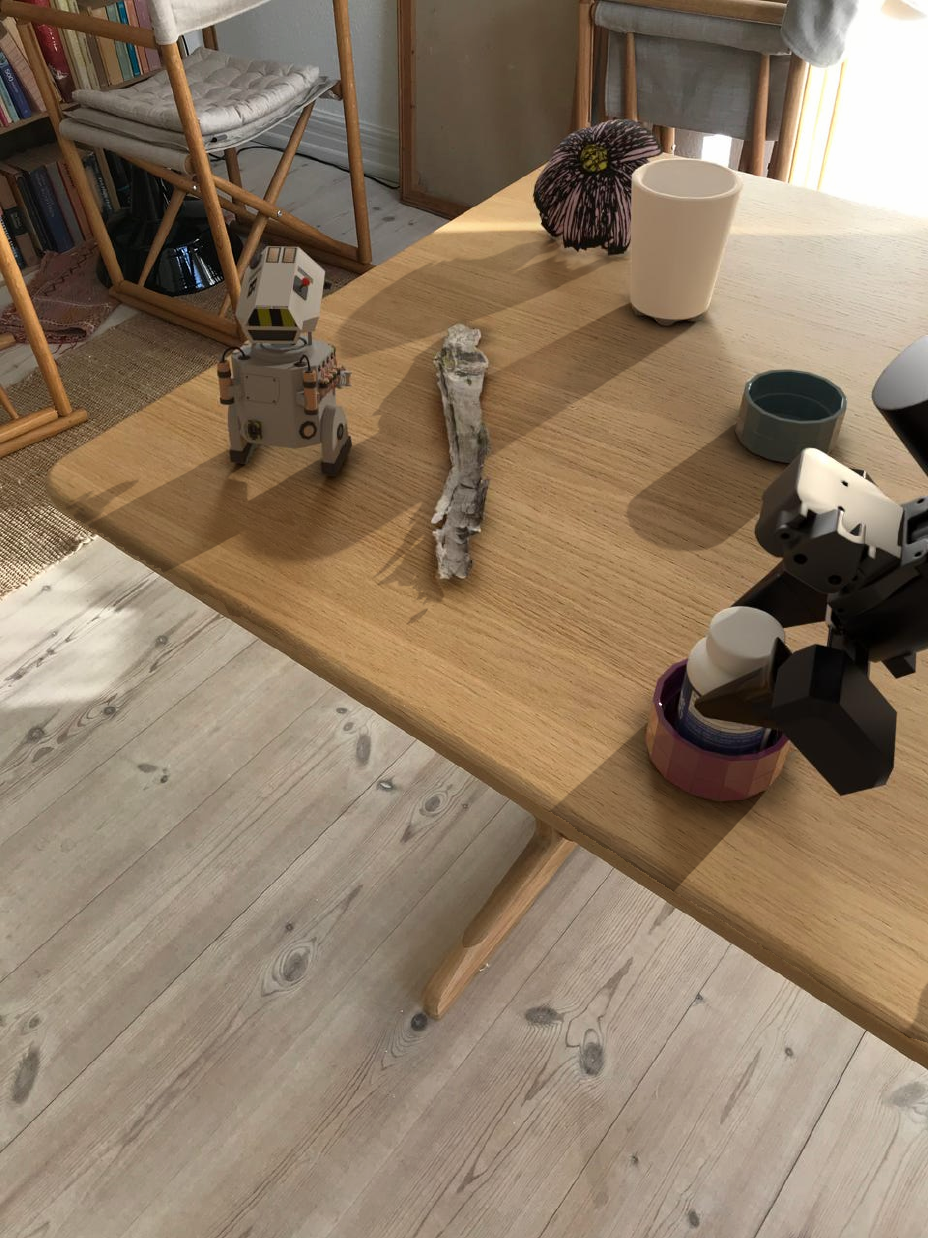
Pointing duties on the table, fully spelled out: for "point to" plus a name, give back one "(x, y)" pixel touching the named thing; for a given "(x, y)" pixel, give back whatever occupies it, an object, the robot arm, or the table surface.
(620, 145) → the decorative flower
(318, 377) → the figurine
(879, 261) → the table surface
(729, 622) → the pill bottle
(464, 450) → the driftwood
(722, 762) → the plum bowl
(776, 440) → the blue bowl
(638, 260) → the cup
